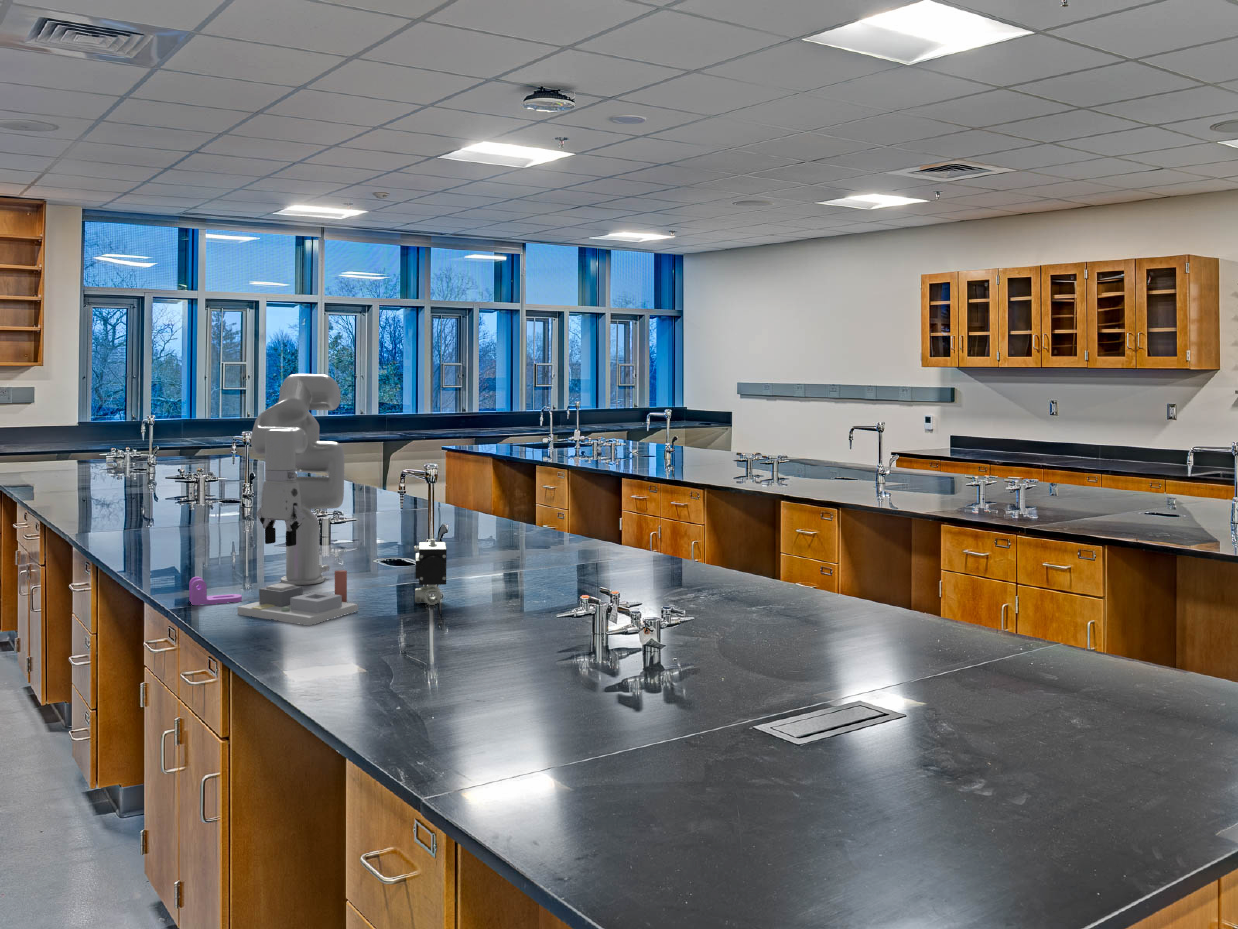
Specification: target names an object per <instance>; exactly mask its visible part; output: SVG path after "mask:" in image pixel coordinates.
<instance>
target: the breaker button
mask: <svg viewBox="0 0 1238 929" xmlns="http://www.w3.org/2000/svg"><path fill="white" fill-rule="evenodd" d="M295 586H296V585H292V584H284V583H282V582H280V583H275V584H270V585H266V587H267V589H272V590H279V591H283V590H287V589H291V588H295Z"/></svg>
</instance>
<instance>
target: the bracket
mask: <svg viewBox="0 0 1238 929" xmlns="http://www.w3.org/2000/svg"><path fill="white" fill-rule="evenodd" d="M188 585H189V587H188V588H189V590H188V591H189V594H188V597H189V598H188V599H189V601H190V602H191V604H192V605H198V606H201V605H200V604H211V605H217V604H216V603H223V604H228V603H227V602H235V603H240V602H242V600H243V596H242V594H239V593H231V594H230V593H228V594H217V595H214V594H213V595H207V594H208V592H207V591H208V590H207V589H208V586H207V583H206V582H205V580H204V579H203V578H202V577H201V576H194V577H192V578H191V579H190V580H189V582H188ZM189 601H188V602H189ZM190 602H189V603H190ZM191 604H190V605H191ZM192 605H191V606H192Z"/></svg>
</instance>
